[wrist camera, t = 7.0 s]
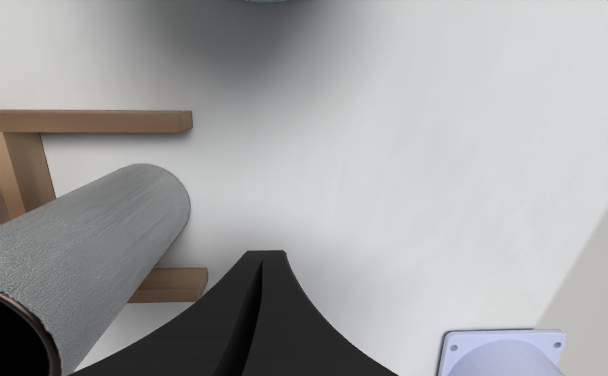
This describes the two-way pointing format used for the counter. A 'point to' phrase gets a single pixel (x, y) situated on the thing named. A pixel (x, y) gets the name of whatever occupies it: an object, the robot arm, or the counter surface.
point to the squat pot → (3, 210)
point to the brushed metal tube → (81, 265)
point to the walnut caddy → (38, 187)
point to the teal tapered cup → (265, 1)
